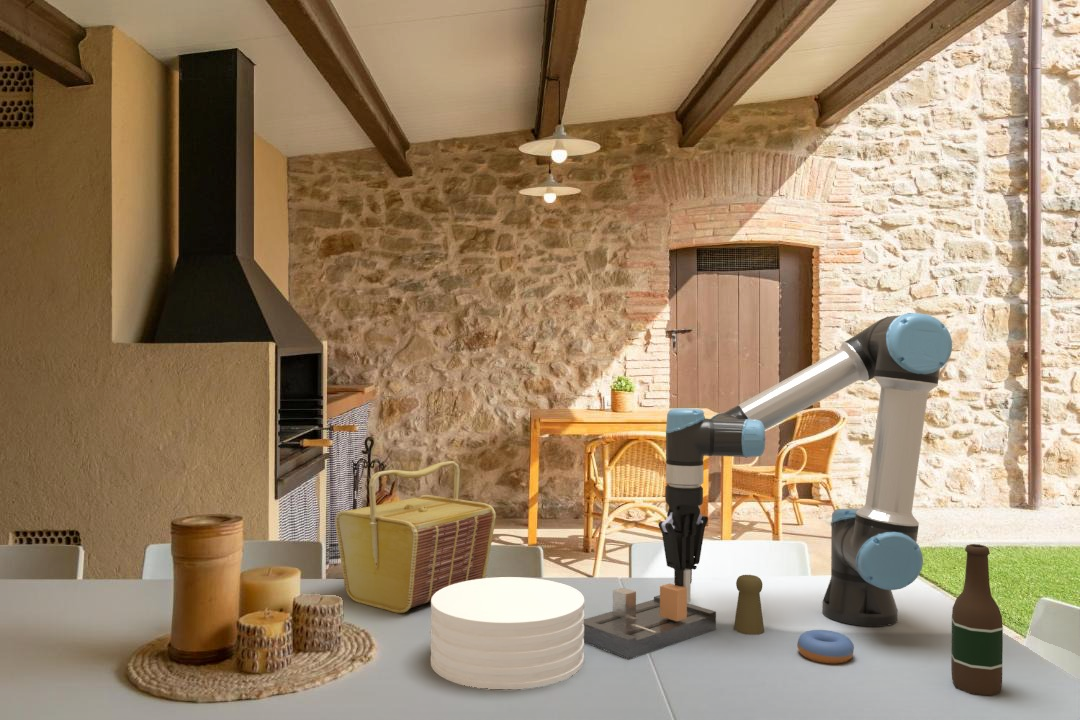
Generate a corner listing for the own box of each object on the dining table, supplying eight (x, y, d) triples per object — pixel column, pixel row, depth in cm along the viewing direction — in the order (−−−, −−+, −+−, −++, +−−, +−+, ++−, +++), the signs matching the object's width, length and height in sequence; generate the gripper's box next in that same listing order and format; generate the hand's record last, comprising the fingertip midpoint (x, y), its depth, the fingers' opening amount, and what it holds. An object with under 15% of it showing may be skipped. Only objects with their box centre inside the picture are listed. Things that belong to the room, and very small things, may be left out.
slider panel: (715, 629, 167) (716, 590, 167) (628, 659, 150) (628, 615, 150) (659, 611, 179) (660, 574, 179) (572, 637, 162) (573, 597, 162)
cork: (765, 635, 164) (765, 580, 164) (734, 633, 165) (734, 579, 165) (763, 626, 170) (763, 572, 170) (733, 623, 171) (733, 571, 171)
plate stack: (465, 703, 132) (466, 632, 131) (409, 647, 156) (410, 587, 156) (613, 673, 144) (613, 608, 144) (540, 626, 169) (540, 570, 169)
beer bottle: (941, 678, 142) (942, 540, 142) (983, 677, 143) (984, 540, 143) (968, 697, 135) (969, 551, 134) (1013, 696, 135) (1014, 550, 135)
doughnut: (854, 668, 146) (853, 641, 147) (796, 663, 150) (795, 637, 150) (854, 654, 156) (853, 629, 156) (799, 650, 159) (798, 626, 160)
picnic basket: (420, 572, 210) (421, 455, 210) (499, 590, 195) (500, 464, 194) (329, 599, 186) (330, 467, 186) (411, 622, 171) (412, 478, 171)
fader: (686, 618, 163) (686, 588, 163) (676, 621, 161) (677, 590, 161) (669, 612, 167) (669, 583, 167) (659, 615, 165) (660, 586, 165)
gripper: (690, 479, 173) (688, 591, 173) (648, 485, 165) (647, 602, 165) (719, 484, 167) (717, 599, 168) (677, 490, 159) (676, 611, 159)
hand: (682, 600), depth 166 cm, fingers closed
